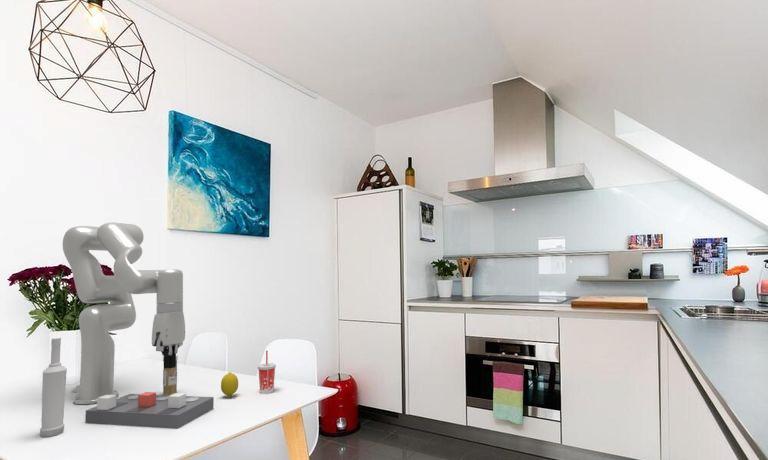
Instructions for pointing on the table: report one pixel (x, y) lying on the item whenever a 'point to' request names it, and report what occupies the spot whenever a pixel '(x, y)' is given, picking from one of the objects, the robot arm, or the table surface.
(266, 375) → the beverage cup
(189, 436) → the table surface
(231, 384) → the lemon
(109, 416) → the switch panel
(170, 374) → the sprinkles bottle
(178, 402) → the right switch
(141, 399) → the red switch
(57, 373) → the bottle
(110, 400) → the left switch
